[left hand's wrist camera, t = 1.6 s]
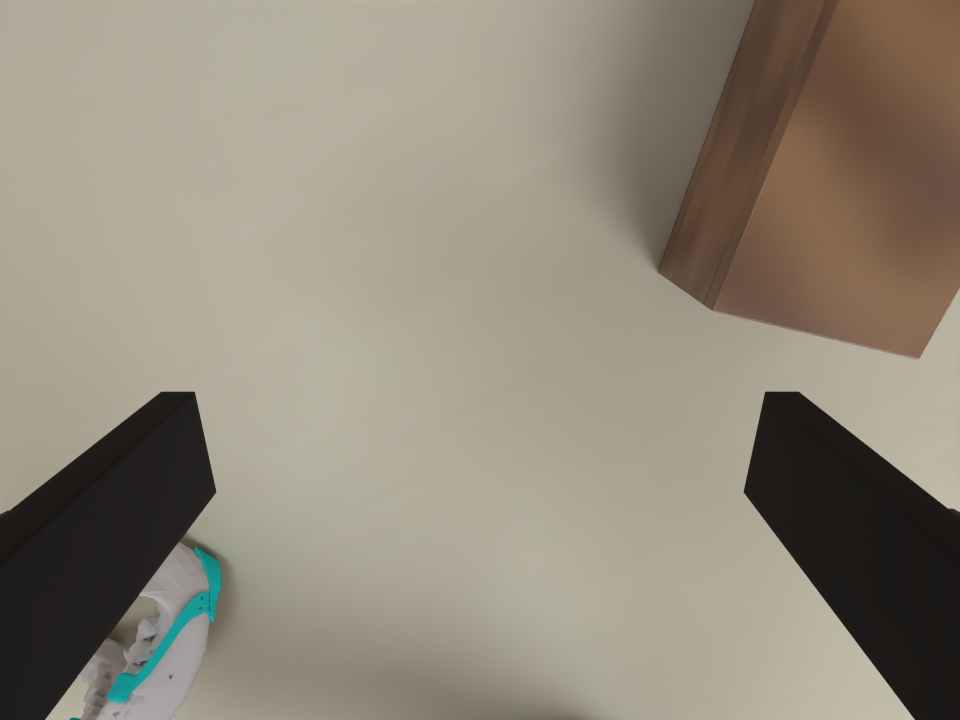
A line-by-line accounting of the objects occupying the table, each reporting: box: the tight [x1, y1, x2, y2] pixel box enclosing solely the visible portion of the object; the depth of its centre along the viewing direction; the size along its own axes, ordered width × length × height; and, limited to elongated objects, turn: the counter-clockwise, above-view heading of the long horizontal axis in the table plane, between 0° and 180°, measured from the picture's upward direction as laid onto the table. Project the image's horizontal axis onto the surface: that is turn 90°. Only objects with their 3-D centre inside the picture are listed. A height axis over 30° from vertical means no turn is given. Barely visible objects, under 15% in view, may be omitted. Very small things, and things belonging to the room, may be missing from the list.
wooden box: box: [658, 0, 960, 359], centre depth 26 cm, size 18×10×8 cm, turn 167°
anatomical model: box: [70, 542, 222, 720], centre depth 37 cm, size 15×10×10 cm
